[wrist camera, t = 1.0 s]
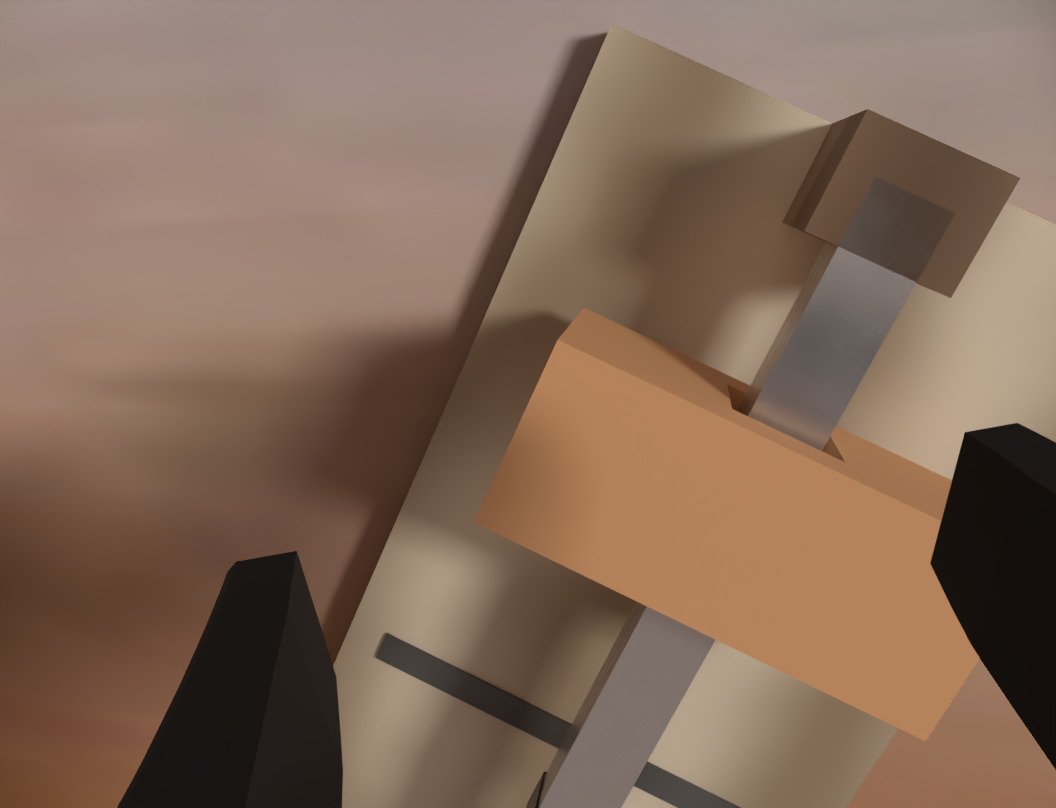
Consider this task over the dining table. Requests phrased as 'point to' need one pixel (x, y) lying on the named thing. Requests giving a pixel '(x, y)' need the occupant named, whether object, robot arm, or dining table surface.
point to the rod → (781, 403)
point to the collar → (735, 523)
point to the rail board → (721, 343)
